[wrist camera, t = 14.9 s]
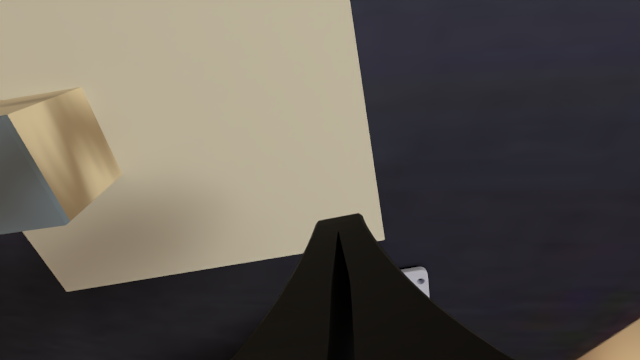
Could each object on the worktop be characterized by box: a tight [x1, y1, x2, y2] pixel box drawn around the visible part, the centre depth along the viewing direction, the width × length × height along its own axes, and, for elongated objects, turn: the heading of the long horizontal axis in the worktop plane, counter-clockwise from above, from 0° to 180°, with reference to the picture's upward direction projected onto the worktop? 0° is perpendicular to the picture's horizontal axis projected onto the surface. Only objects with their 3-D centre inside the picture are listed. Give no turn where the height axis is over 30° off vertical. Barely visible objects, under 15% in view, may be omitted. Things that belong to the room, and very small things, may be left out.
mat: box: [0, 0, 385, 292], centre depth 19 cm, size 18×22×1 cm
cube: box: [0, 87, 122, 234], centre depth 17 cm, size 5×5×5 cm
